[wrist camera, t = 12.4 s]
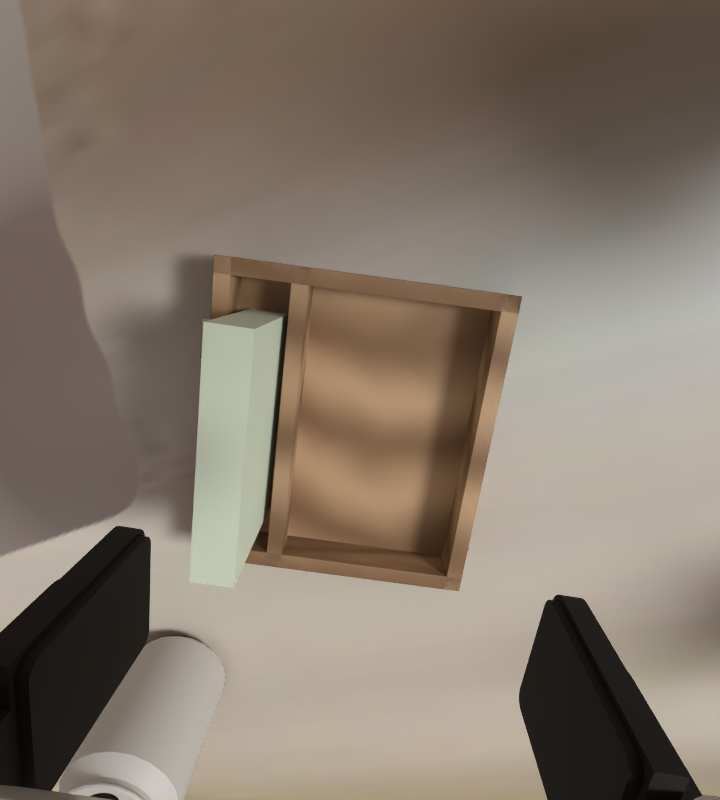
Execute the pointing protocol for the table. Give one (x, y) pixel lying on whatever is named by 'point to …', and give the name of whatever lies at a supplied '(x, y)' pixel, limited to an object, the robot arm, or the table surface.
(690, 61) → the table surface
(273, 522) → the wooden divided tray
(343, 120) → the table surface
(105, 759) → the can
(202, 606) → the table surface
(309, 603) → the table surface
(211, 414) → the door
